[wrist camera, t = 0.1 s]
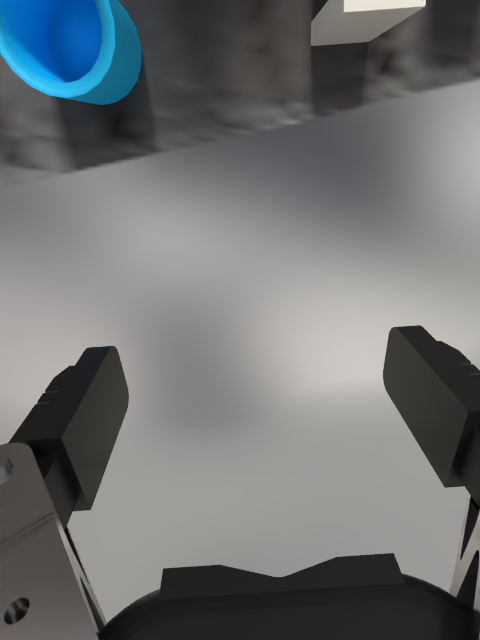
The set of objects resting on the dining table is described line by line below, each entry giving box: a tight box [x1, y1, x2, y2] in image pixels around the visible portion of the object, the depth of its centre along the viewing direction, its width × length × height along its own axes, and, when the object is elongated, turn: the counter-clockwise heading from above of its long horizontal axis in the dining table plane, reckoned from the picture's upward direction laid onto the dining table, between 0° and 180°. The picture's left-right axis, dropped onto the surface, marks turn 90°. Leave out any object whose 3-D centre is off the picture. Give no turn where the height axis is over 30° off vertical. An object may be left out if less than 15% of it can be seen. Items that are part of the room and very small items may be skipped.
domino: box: [311, 0, 426, 46], centre depth 26 cm, size 2×5×10 cm, turn 94°
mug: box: [0, 0, 141, 105], centre depth 26 cm, size 12×8×8 cm
